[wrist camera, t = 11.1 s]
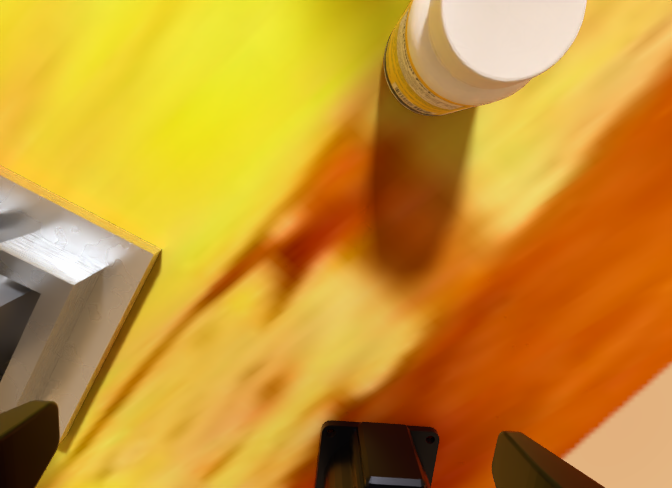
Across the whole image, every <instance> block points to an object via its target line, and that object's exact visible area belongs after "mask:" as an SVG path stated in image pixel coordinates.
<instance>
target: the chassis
mask: <svg viewBox="0 0 672 488" xmlns="http://www.w3.org/2000/svg"><path fill="white" fill-rule="evenodd" d="M160 251H161V249H160V248H158V247H156V246H154V245H152V244H150V243H148V242H146V241H145V240H143V239H141V238H139V237H137V236H135V235H133V234H131V233H129V232H127V231H125V230H123V229H121V228H119V227H118V226H116V225H114V224H112V223H110V222H108V221H106V220H104V219H102V218H100V217H98V216H96V215H94V214H93V213H91V212H89V211H87V210H85V209H83V208H81V207H79V206H77V205H75V204H73V203H71V202H69V201H68V200H66V199H64V198H62V197H60V196H58V195H56V194H54V193H52V192H50V191H48V190H46V189H44V188H43V187H41V186H39V185H37V184H35V183H33V182H31V181H29V180H27V179H25V178H23V177H21V176H19V175H18V174H16V173H14V172H12V171H10V170H8V169H6V168H4V167H2V166H0V274H1V275H3V276H5V277H7V278H9V279H11V280H13V281H15V282H17V283H19V284H21V285H23V286H26V287H28V288H30V289H32V290H34V291H36V292H38V293H40V294H41V295H40V297H39V299H38V301H37V303H36V306H35V308H34V310H33V312H32V314H31V316H30V319H29V321H28V323H27V325H26V327H25V330H24V332H23V334H22V336H21V338H20V340H19V343H18V345H17V347H16V349H15V351H14V353H13V356H12V358H11V360H10V361H8V362H7V363H5V364H4V365H3V366H1V367H0V414H1V413H3V412H5V411H8V410H10V409H13V408H15V407H17V406H20V405H22V404H25V403H27V402H29V401H32V400H44V401H54V402H55V403H57V405H58V409H59V428H60V441H59V444H60V443H61V442H62V440H63V439H64V438H65V437H66V436H67V434H68V432H69V430H70V428H71V426H72V424H73V422H74V420H75V418H76V416H77V414H78V412H79V410H80V408H81V406H82V404H83V402H84V400H85V398H86V397H87V395H88V393H89V391H90V389H91V387H92V385H93V383H94V381H95V379H96V377H97V375H98V373H99V371H100V369H101V367H102V365H103V363H104V361H105V359H106V357H107V355H108V353H109V351H110V349H111V347H112V346H113V344H114V342H115V340H116V338H117V336H118V334H119V332H120V330H121V328H122V326H123V324H124V322H125V320H126V318H127V316H128V314H129V312H130V310H131V308H132V306H133V304H134V302H135V300H136V298H137V296H138V295H139V293H140V291H141V289H142V287H143V285H144V283H145V281H146V279H147V277H148V275H149V273H150V271H151V269H152V267H153V265H154V263H155V261H156V259H157V257H158V255H159V253H160Z"/></svg>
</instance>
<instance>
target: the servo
mask: <svg viewBox="0 0 672 488" xmlns="http://www.w3.org/2000/svg"><path fill="white" fill-rule="evenodd" d="M40 295H41V294H40V293H38V292H36V291H34V290H32V289H30V288H28V287H26V286H23V285H21V284H19V283H17V282H15V281H13V280H11V279H9V278H7V277H5V276H3V275H1V274H0V367H1V366H3V365H4V364H5V363H7V362H8V361H10V360H11V358H12V356H13V353H14V351H15V349H16V347H17V345H18V343H19V340H20V338H21V336H22V334H23V332H24V330H25V327H26V325H27V323H28V321H29V319H30V316H31V314H32V312H33V310H34V308H35V306H36V303H37V301H38V299H39V297H40Z"/></svg>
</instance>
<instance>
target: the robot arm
mask: <svg viewBox="0 0 672 488" xmlns="http://www.w3.org/2000/svg"><path fill="white" fill-rule="evenodd" d="M329 429H333V430H334V431H333V432H331V433H330V432H327V430H329ZM428 436H432V438H430V439H426V438H427V437H428ZM59 441H60V428H59V409H58V405H57V403H55V402H54V401H44V400H32V401H29V402H27V403H25V404H22V405H20V406H17V407H15V408H13V409H10V410H8V411H5V412H3V413H1V414H0V488H35V487H36V485H37V483H38V482H39V480H40V478H41V476H42V475H43V473H44V471H45V470H46V468H47V466H48V464H49V463H50V461H51V459H52V457H53V456H54V454H55V452H56V450H57V448H58V445H59ZM438 444H439V436H438V433H437V431H436V430H435V429H434V428H431V427H420V426H406V425H401V424H386V423H371V422H362V423H361V422H346V421H327V422H325V423H324V424H323V425H322V428H321V437H320V446H319V455H318V464H317V473H316V482H315V488H431V482H432V477H433V471H434V466H435V461H436V455H437V450H438ZM492 474H493V478H494V482H495V485H496V488H605V487H603V486H602V485H600V484H598V483H597V482H596V481H594V480H593V479H591V478H589V477H588V476H586V475H585V474H583V473H582V472H580V471H579V470H577V469H576V468H574V467H573V466H571V465H570V464H568V463H567V462H565V461H564V460H562V459H561V458H559V457H558V456H556V455H555V454H553V453H552V452H550V451H549V450H547V449H546V448H544V447H543V446H541V445H540V444H538V443H536V442H535V441H533V440H532V439H530V438H529V437H527V436H526V435H524V434H523V433H521V432H513V431H502V432H501V433H500V434H499V436H498V439H497V444H496V448H495V453H494V457H493V462H492Z"/></svg>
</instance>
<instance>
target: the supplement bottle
mask: <svg viewBox="0 0 672 488" xmlns="http://www.w3.org/2000/svg"><path fill="white" fill-rule="evenodd" d="M586 2H587V0H411V2H410V3H409V5H408V6H407V8H406V10H405V11H404V13H403V15H402V16H401V18H400V20H399V21H398V23H397V24H396V26H395V28H394V29H393V31H392V33H391V35H390V37H389V39H388V42H387V45H386V48H385V54H384V72H385V77H386V81H387V84H388V86H389V88H390V90H391V92H392V93H393V95H394V97H395V98H396V99H397V100H398V101H399V102H400V103H401V104H402V105H403V106H404V107H406V108H407V109H409V110H411V111H413V112H415V113H418V114H421V115H426V116H440V115H445V114H449V113H452V112H456V111H460V110H464V109H468V108H472V107H476V106H480V105H484V104H488V103H492V102H495V101H498V100H501V99H504V98H506V97H509V96H510V95H512V94H514V93H515V92H517V91H518V90H520V89H521V88H522V87H524V86H525V85H526V84H527V83H528V82H529V81H530V80H531V79H532V78H534V77H536V76H538V75H540V74H541V73H543V72H545V71H546V70H548V69H549V68H550V67H552V66H553V65H554V64H555V63H556V62H558V61H559V60H560V59H561V58H562V56H563V55H564V54H565V53H566V52H567V50H568V49H569V48H570V46H571V45H572V43H573V41H574V40H575V38H576V36H577V34H578V32H579V30H580V27H581V25H582V22H583V18H584V14H585V8H586Z"/></svg>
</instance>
